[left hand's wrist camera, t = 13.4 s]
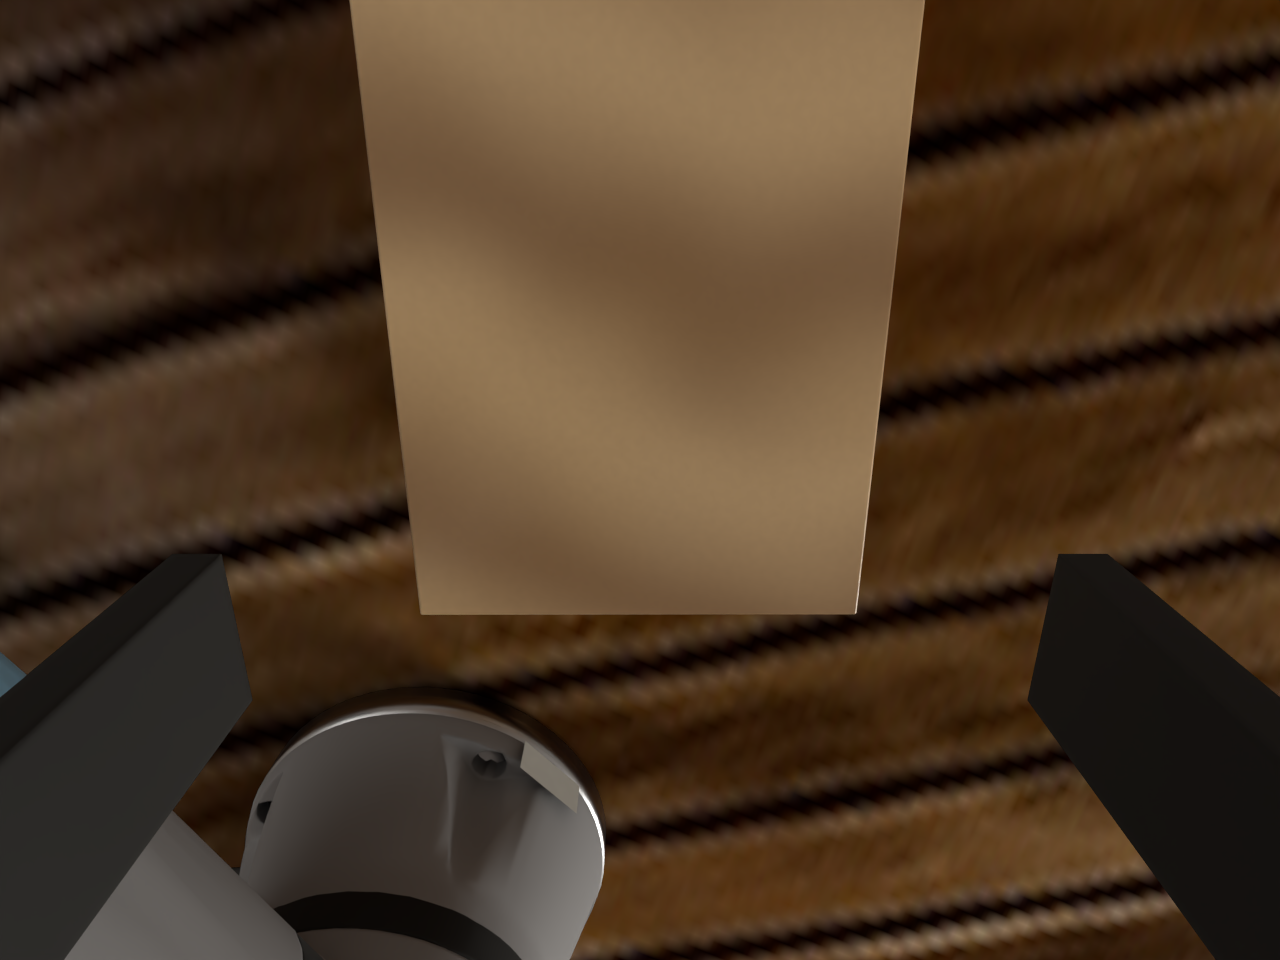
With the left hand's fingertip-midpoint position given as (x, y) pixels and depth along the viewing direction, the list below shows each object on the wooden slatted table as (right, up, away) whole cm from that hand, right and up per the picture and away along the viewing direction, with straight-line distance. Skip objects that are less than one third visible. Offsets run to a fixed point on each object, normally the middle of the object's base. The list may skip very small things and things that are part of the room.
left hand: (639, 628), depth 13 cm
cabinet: (0, +12, +14) cm, 18 cm away
